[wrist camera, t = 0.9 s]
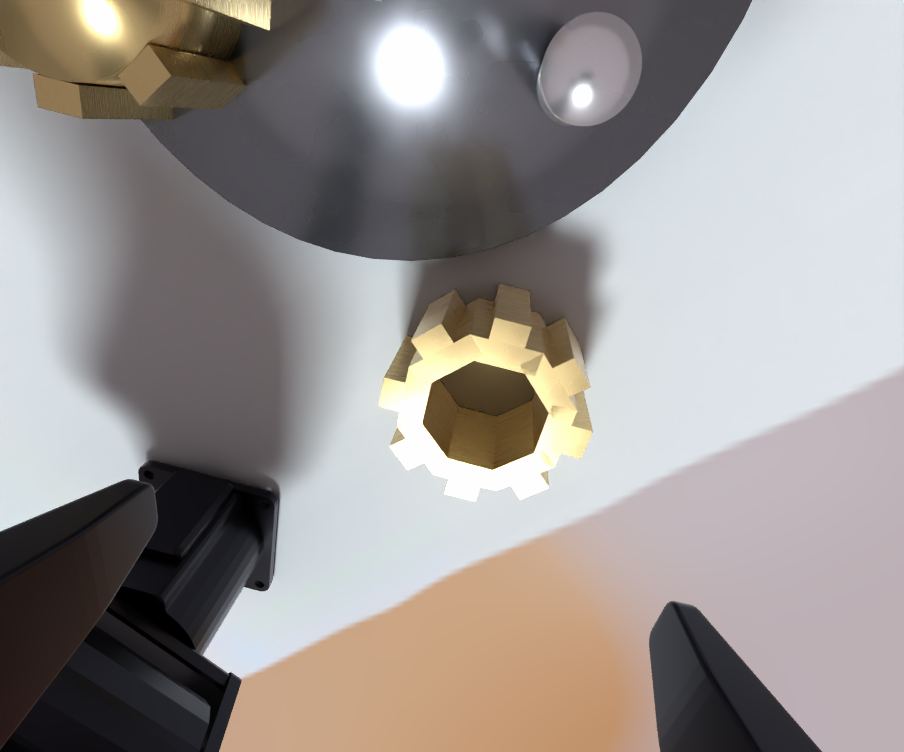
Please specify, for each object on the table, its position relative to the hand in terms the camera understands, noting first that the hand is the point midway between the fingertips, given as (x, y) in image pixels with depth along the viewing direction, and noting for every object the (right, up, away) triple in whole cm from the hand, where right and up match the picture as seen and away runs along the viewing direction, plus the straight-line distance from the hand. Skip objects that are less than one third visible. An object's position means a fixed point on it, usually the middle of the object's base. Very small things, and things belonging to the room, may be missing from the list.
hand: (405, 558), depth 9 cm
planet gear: (+2, +3, +11) cm, 11 cm away
